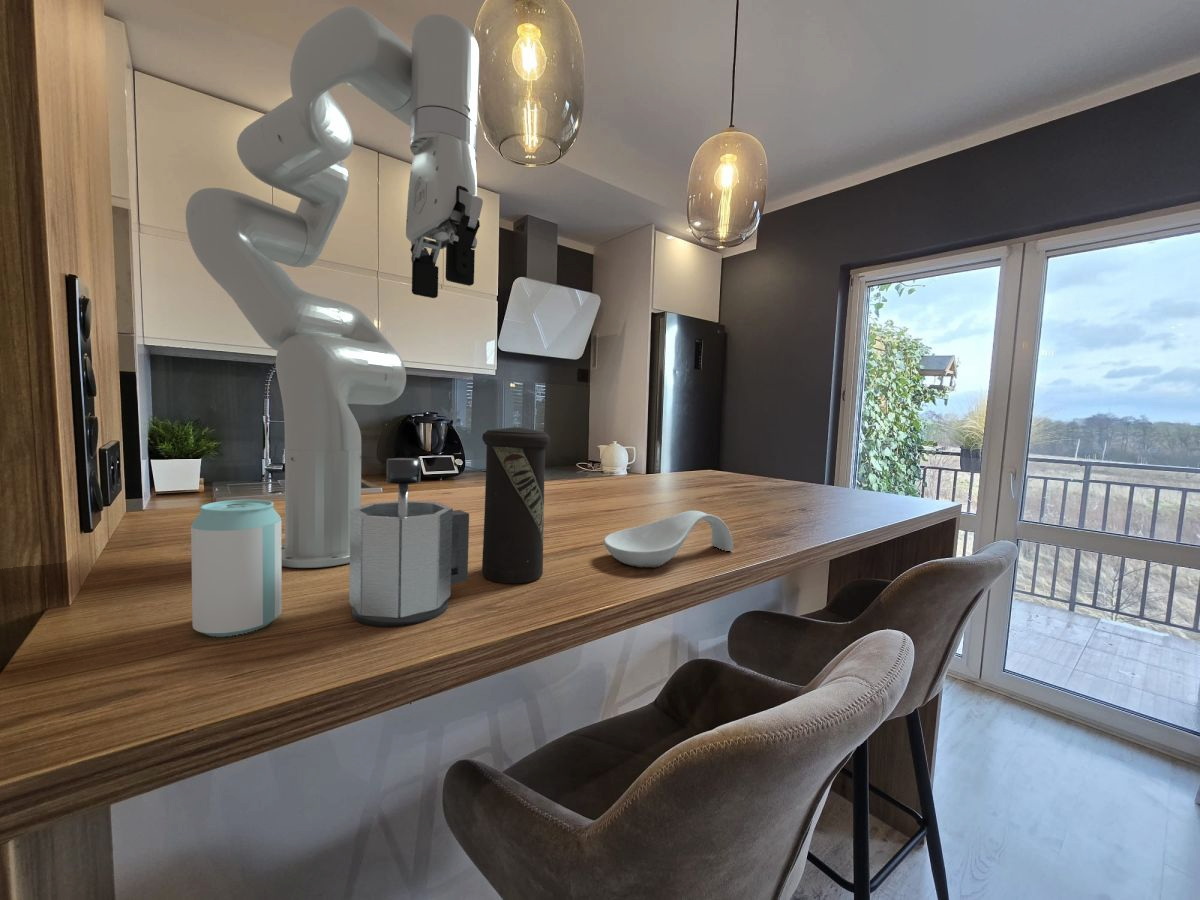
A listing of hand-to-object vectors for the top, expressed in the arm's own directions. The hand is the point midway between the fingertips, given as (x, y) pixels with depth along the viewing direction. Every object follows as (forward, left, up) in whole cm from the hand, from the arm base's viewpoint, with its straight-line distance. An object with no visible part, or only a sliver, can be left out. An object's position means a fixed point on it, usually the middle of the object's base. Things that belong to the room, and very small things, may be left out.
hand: (441, 289), depth 59 cm
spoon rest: (+9, +35, -37) cm, 52 cm away
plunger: (+5, -6, -33) cm, 34 cm away
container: (+2, +10, -36) cm, 38 cm away
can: (0, -20, -36) cm, 42 cm away
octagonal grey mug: (+5, -5, -36) cm, 37 cm away
